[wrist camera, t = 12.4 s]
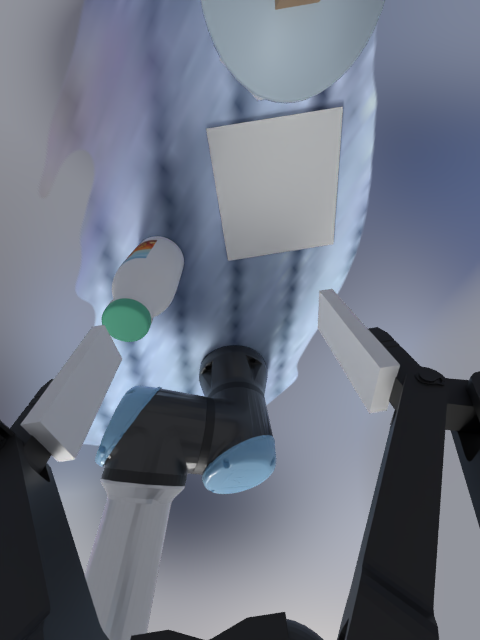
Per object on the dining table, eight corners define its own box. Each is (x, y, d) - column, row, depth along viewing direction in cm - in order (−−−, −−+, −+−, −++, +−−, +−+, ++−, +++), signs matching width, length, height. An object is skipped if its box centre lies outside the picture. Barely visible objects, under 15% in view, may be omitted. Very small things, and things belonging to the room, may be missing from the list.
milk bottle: (179, 232, 40) (153, 286, 23) (188, 277, 44) (171, 350, 27) (130, 237, 40) (68, 294, 23) (144, 282, 44) (100, 358, 27)
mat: (331, 243, 43) (333, 244, 42) (227, 259, 43) (228, 261, 42) (341, 107, 33) (342, 106, 32) (206, 129, 33) (206, 128, 33)
